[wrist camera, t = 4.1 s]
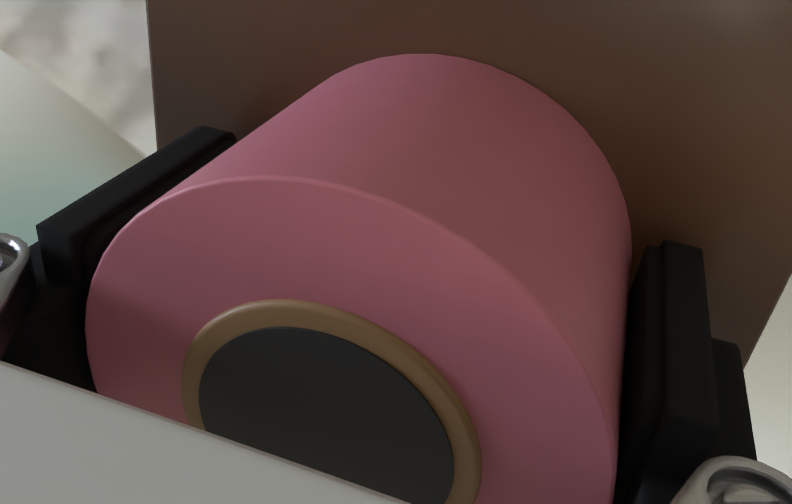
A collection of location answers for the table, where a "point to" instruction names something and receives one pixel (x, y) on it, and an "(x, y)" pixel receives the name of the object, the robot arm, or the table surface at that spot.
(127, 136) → the table surface
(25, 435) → the robot arm
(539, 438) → the tape roll
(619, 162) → the desk shelf
